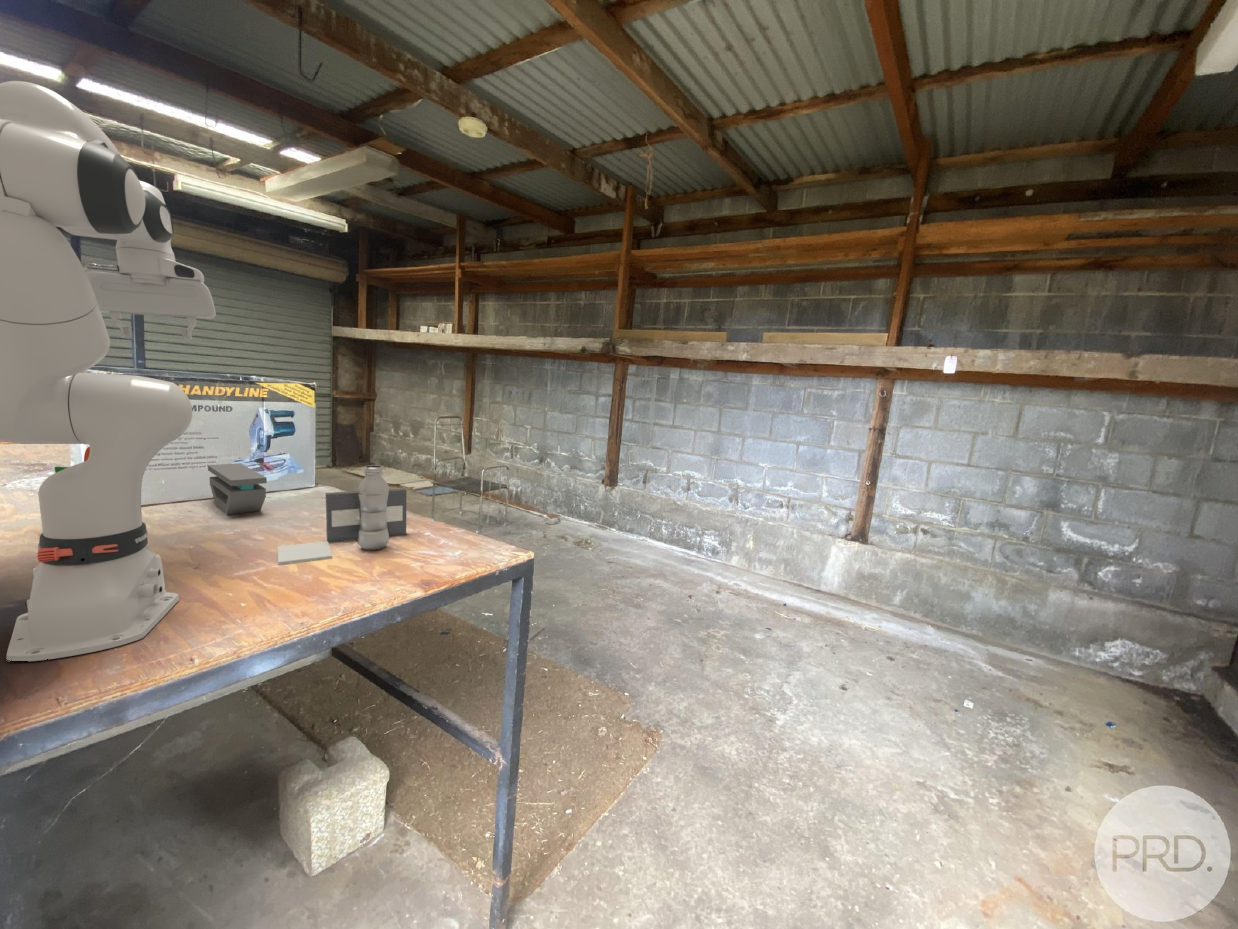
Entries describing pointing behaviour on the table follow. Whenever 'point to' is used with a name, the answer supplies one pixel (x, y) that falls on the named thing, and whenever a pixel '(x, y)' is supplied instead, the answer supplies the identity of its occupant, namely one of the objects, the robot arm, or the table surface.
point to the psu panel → (347, 514)
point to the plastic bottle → (373, 509)
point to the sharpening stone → (237, 488)
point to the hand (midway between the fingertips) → (157, 337)
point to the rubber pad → (303, 552)
